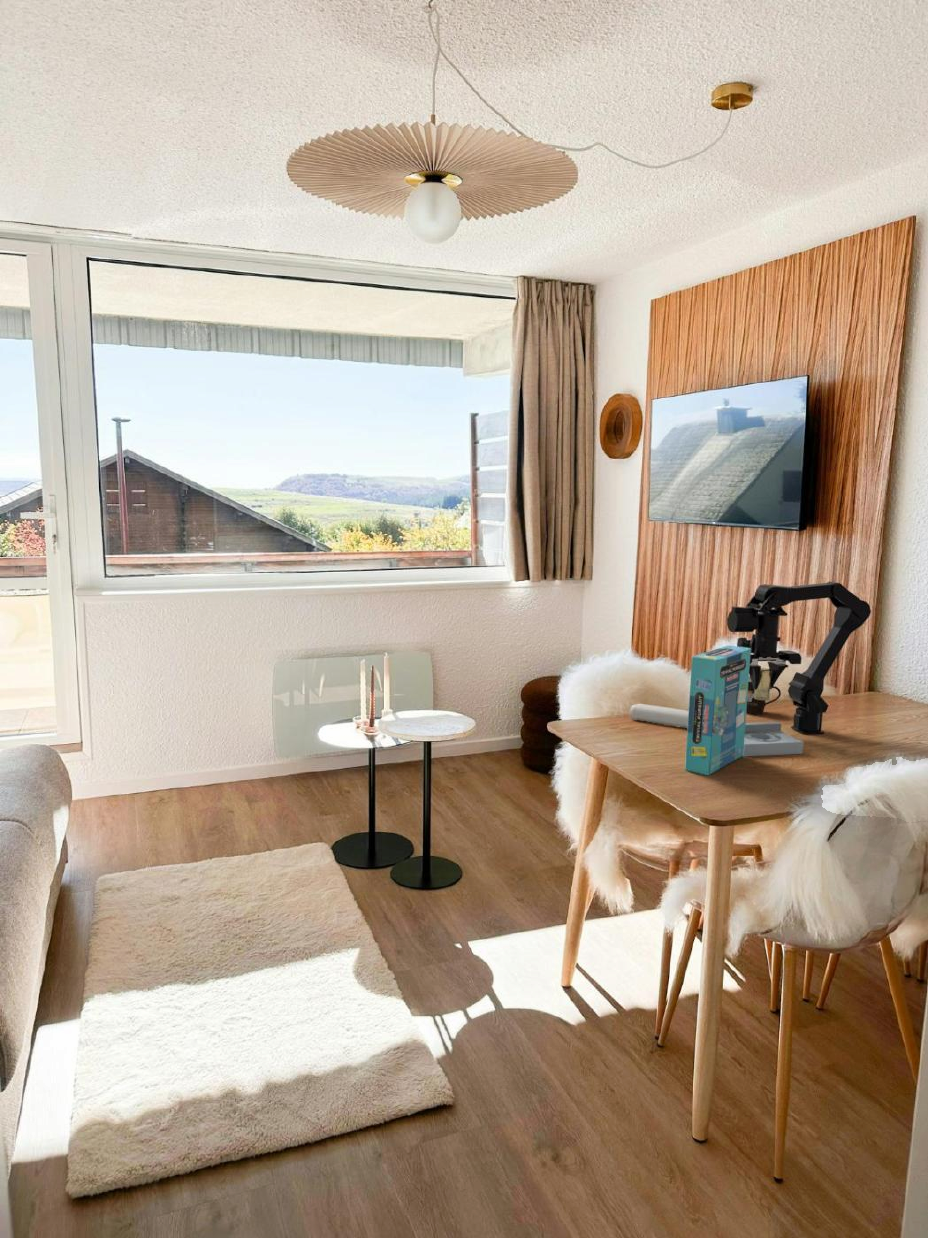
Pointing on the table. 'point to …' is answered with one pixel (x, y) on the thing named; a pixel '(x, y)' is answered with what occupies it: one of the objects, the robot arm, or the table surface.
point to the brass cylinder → (763, 685)
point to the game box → (717, 708)
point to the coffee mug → (756, 701)
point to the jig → (769, 740)
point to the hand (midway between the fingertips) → (762, 689)
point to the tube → (660, 715)
